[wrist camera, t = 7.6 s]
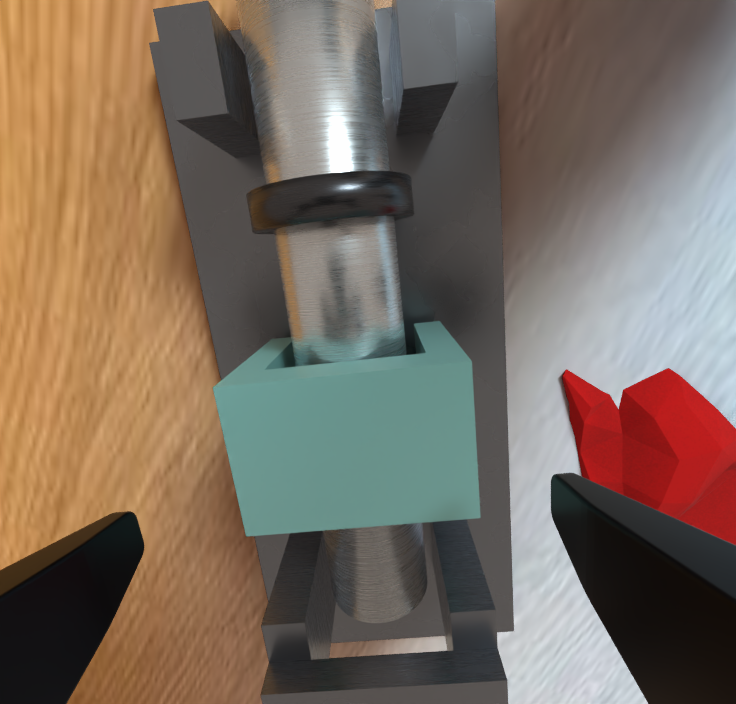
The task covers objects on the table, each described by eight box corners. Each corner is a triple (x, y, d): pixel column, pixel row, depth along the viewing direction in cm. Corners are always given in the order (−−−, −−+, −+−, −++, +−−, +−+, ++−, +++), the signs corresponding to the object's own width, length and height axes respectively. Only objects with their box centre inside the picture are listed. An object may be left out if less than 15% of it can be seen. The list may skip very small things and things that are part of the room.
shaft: (218, -116, 12) (117, -345, 7) (377, -143, 12) (377, -398, 7) (325, 540, 18) (306, 644, 13) (434, 532, 17) (454, 635, 13)
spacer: (271, 339, 16) (212, 387, 10) (439, 320, 15) (472, 361, 10) (290, 442, 17) (246, 536, 11) (447, 427, 17) (480, 518, 11)
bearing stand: (163, 56, 15) (-65, -150, 7) (486, 9, 14) (613, -271, 7) (282, 628, 22) (228, 840, 14) (507, 613, 21) (582, 826, 13)
